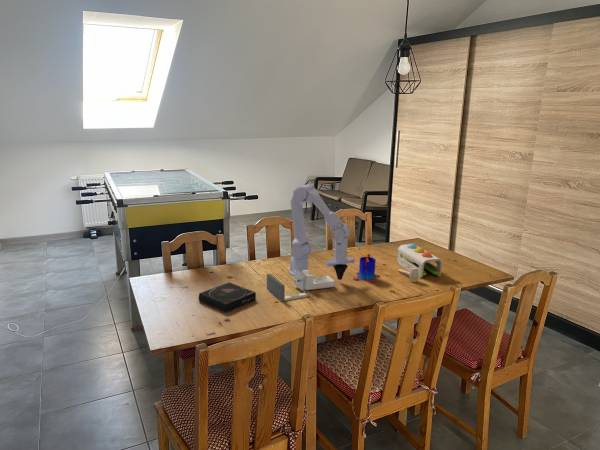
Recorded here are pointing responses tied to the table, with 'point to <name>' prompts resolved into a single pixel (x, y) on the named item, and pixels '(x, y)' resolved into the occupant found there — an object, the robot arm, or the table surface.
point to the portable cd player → (227, 297)
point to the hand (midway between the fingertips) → (339, 279)
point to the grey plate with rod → (280, 289)
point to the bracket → (318, 281)
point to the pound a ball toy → (417, 261)
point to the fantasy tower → (367, 270)
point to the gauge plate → (300, 280)
